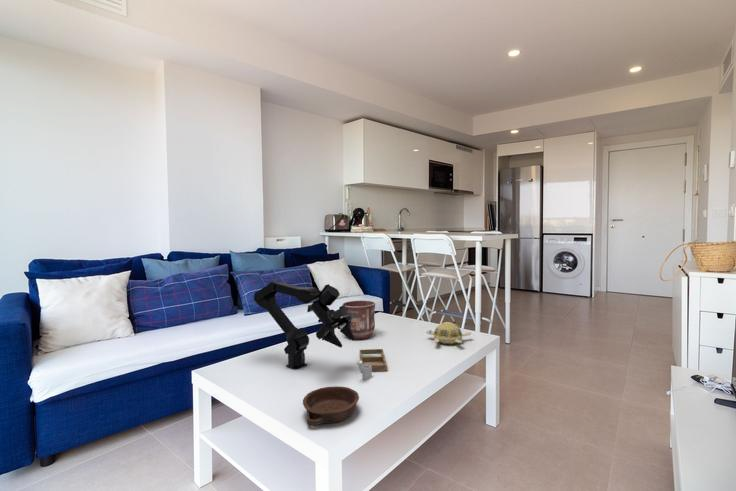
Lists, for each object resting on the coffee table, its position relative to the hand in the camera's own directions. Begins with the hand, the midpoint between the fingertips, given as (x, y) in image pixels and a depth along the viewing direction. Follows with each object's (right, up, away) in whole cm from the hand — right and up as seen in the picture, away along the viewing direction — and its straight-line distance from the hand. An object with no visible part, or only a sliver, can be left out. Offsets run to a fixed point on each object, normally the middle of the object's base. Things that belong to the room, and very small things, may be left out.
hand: (347, 343), depth 144 cm
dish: (-4, -15, -28) cm, 32 cm away
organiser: (+10, -12, +14) cm, 21 cm away
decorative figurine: (+47, -10, +41) cm, 63 cm away
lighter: (+7, -13, -3) cm, 15 cm away
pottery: (+3, -11, +53) cm, 55 cm away
